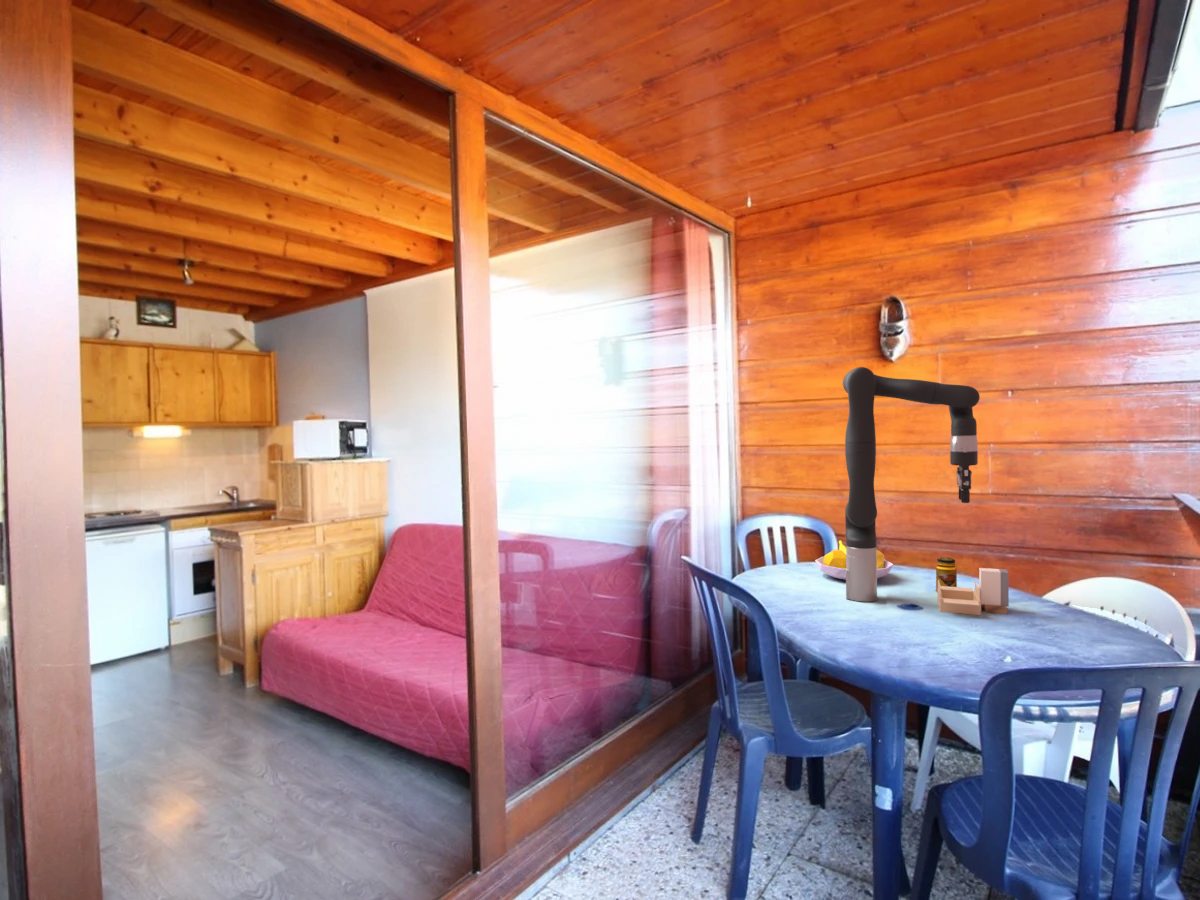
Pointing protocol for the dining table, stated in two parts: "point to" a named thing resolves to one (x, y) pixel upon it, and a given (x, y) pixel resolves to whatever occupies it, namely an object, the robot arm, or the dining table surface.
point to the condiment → (946, 572)
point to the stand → (994, 609)
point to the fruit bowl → (837, 563)
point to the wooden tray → (959, 599)
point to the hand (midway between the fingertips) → (964, 501)
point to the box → (994, 586)
